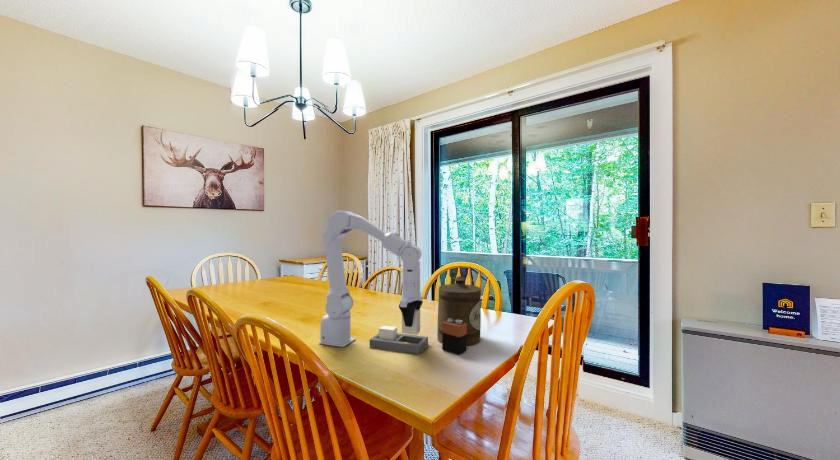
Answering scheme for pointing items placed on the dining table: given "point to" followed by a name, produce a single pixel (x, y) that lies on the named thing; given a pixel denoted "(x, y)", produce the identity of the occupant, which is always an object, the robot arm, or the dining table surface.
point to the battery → (454, 336)
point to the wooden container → (460, 308)
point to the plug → (415, 326)
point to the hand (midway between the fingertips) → (410, 324)
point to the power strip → (398, 341)
